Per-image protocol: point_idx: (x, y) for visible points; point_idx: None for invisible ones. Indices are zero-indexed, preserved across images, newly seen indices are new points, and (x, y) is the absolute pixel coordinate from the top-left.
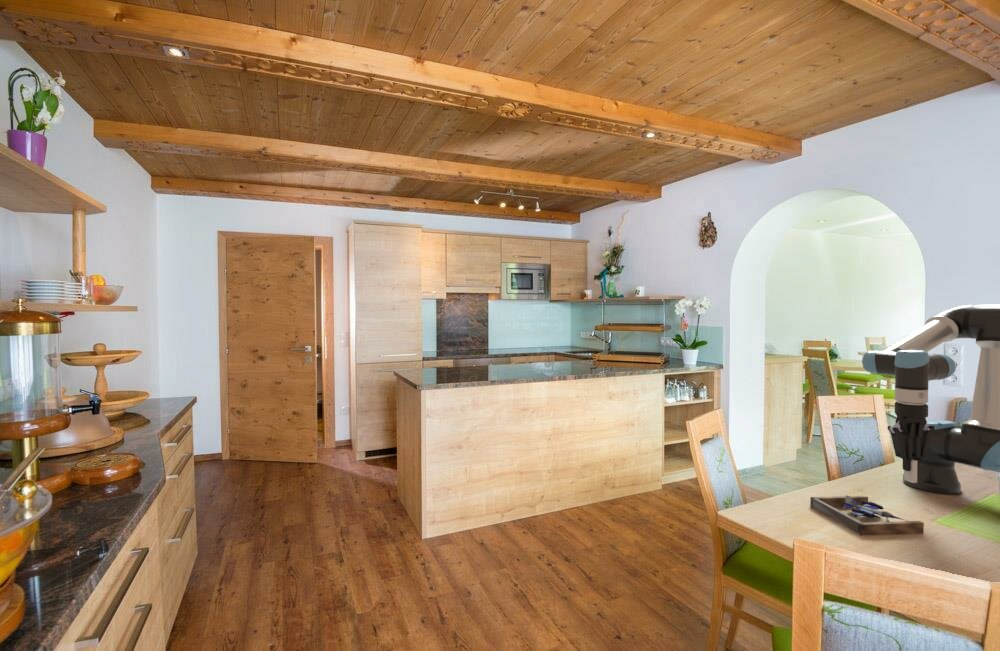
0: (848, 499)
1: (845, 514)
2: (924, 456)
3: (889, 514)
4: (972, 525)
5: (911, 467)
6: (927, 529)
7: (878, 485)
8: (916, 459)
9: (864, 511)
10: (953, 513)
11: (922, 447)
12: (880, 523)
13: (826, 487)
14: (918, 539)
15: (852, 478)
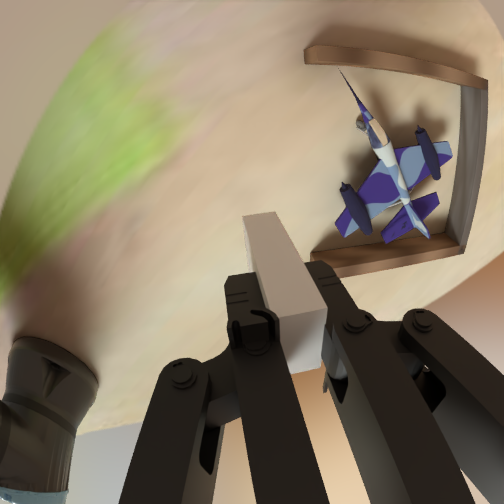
0: (422, 227)
1: (481, 141)
2: (183, 370)
3: (377, 124)
4: (73, 134)
5: (307, 274)
6: (259, 78)
7: None
8: (271, 337)
9: (433, 151)
10: (70, 224)
11: (195, 478)
12: (449, 71)
13: None
14: (353, 21)
15: None
